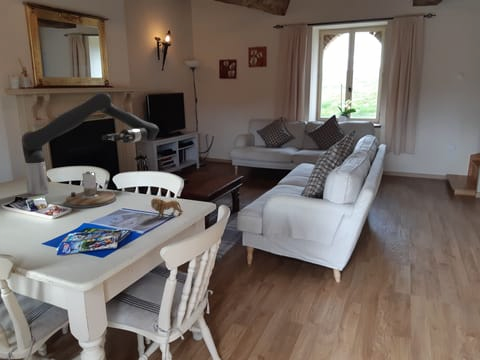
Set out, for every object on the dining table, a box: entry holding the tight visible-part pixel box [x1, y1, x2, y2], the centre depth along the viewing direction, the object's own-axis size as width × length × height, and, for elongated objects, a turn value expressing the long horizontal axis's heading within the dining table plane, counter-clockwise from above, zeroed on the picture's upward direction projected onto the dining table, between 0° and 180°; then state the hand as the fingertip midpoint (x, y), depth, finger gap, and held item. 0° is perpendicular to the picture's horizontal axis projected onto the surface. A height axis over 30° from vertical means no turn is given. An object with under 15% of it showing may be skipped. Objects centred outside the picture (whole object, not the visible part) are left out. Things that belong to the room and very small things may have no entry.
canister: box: [82, 171, 98, 199], centre depth 184 cm, size 7×7×13 cm
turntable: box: [65, 190, 116, 206], centre depth 185 cm, size 23×23×3 cm
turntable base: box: [64, 195, 117, 209], centre depth 186 cm, size 24×24×1 cm
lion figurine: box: [150, 197, 184, 219], centre depth 163 cm, size 15×5×9 cm, turn 123°
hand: (108, 138), depth 190 cm, fingers open, 8 cm apart
